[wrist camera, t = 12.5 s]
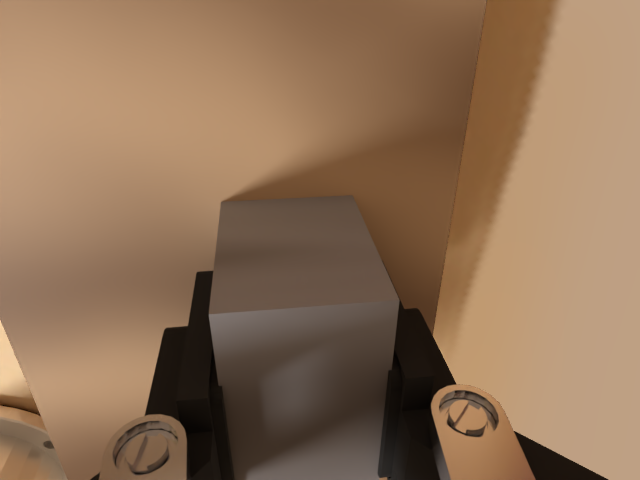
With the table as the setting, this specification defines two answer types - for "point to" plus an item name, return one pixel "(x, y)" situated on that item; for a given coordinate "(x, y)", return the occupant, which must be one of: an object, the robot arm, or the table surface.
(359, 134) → the lid
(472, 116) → the table surface
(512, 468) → the robot arm
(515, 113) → the table surface
